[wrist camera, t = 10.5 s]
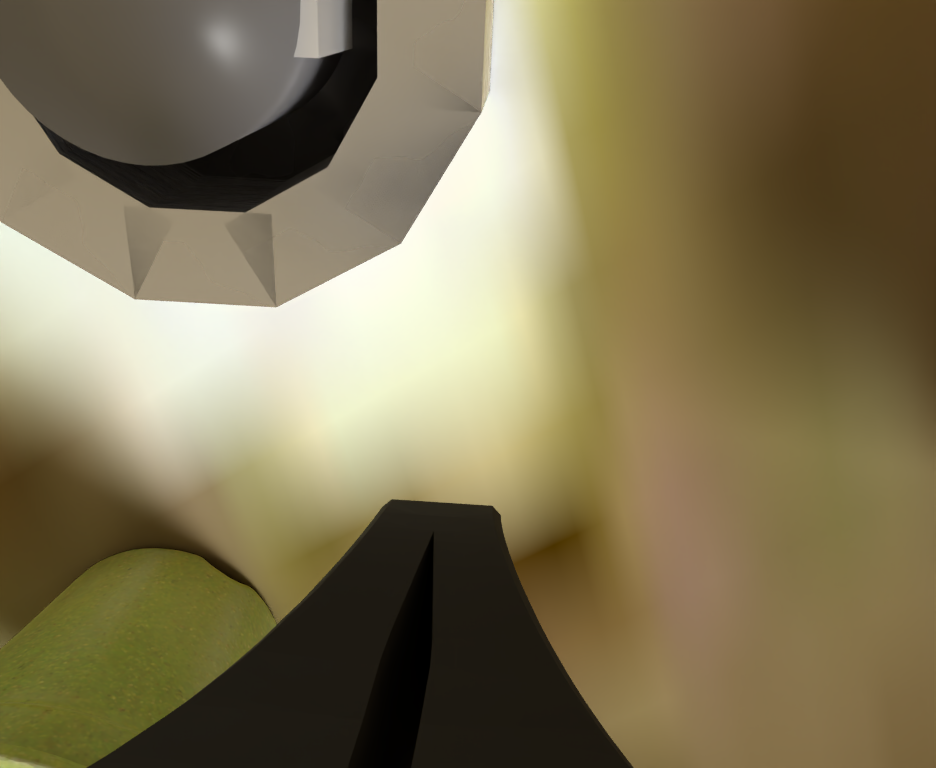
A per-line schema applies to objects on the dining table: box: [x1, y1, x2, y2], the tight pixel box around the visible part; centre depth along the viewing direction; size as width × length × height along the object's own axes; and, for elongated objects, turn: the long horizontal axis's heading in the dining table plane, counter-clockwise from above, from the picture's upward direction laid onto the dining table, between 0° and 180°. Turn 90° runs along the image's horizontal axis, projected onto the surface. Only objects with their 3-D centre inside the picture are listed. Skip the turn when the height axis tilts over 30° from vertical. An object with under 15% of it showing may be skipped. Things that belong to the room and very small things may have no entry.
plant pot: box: [0, 548, 277, 768], centre depth 20 cm, size 9×9×9 cm
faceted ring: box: [0, 0, 494, 307], centre depth 16 cm, size 10×10×4 cm
